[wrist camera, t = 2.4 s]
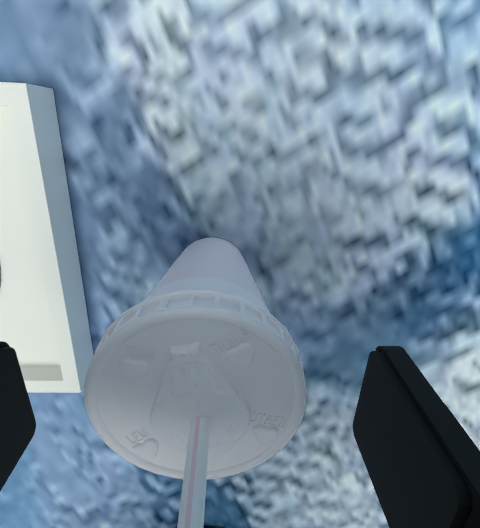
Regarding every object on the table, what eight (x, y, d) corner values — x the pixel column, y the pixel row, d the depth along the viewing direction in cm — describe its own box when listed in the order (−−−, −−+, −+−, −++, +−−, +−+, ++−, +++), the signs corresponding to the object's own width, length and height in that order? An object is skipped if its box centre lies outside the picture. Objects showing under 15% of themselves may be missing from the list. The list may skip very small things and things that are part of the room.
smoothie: (165, 327, 20) (50, 709, 7) (139, 220, 17) (-118, 503, 4) (275, 313, 20) (367, 675, 7) (264, 203, 17) (373, 443, 4)
